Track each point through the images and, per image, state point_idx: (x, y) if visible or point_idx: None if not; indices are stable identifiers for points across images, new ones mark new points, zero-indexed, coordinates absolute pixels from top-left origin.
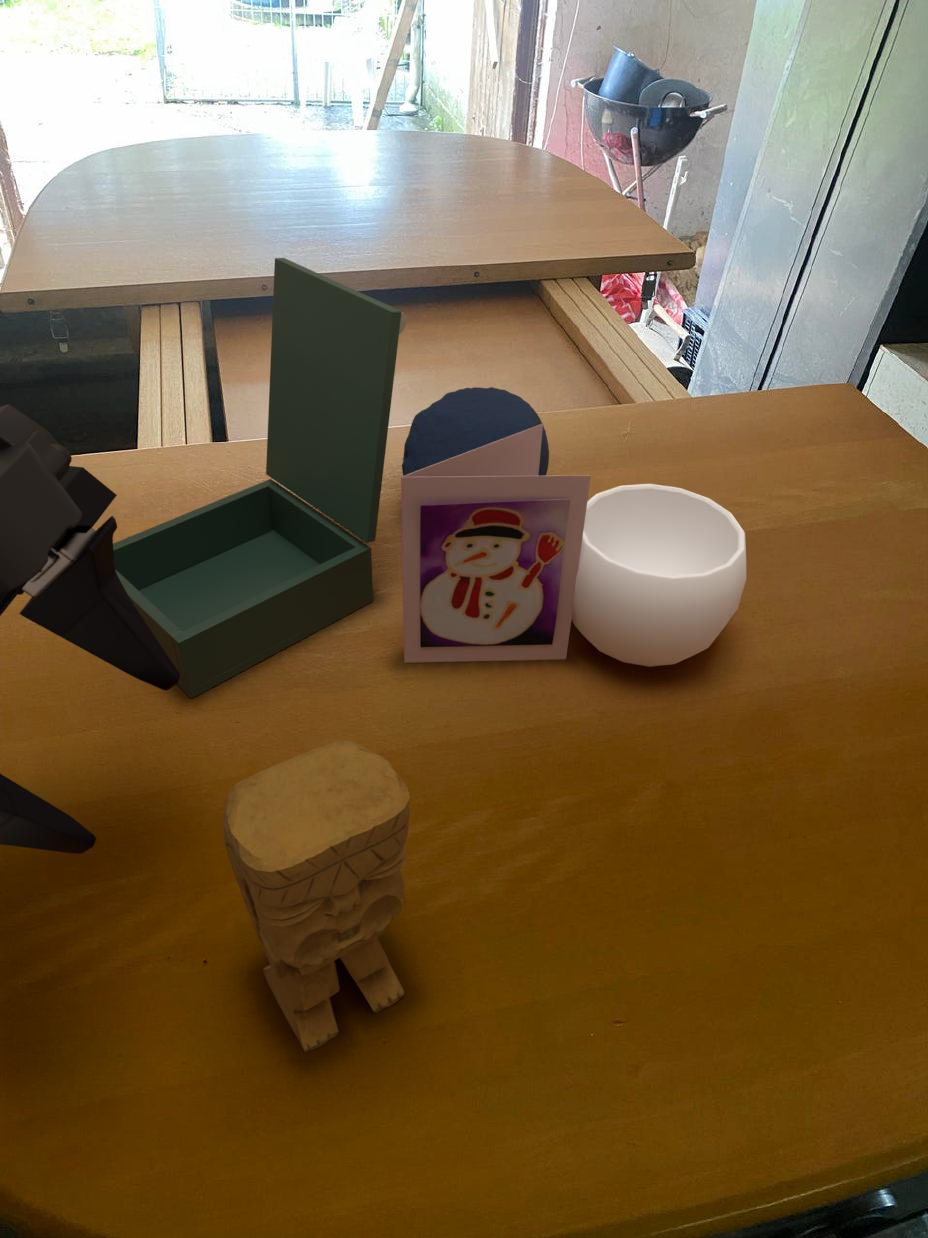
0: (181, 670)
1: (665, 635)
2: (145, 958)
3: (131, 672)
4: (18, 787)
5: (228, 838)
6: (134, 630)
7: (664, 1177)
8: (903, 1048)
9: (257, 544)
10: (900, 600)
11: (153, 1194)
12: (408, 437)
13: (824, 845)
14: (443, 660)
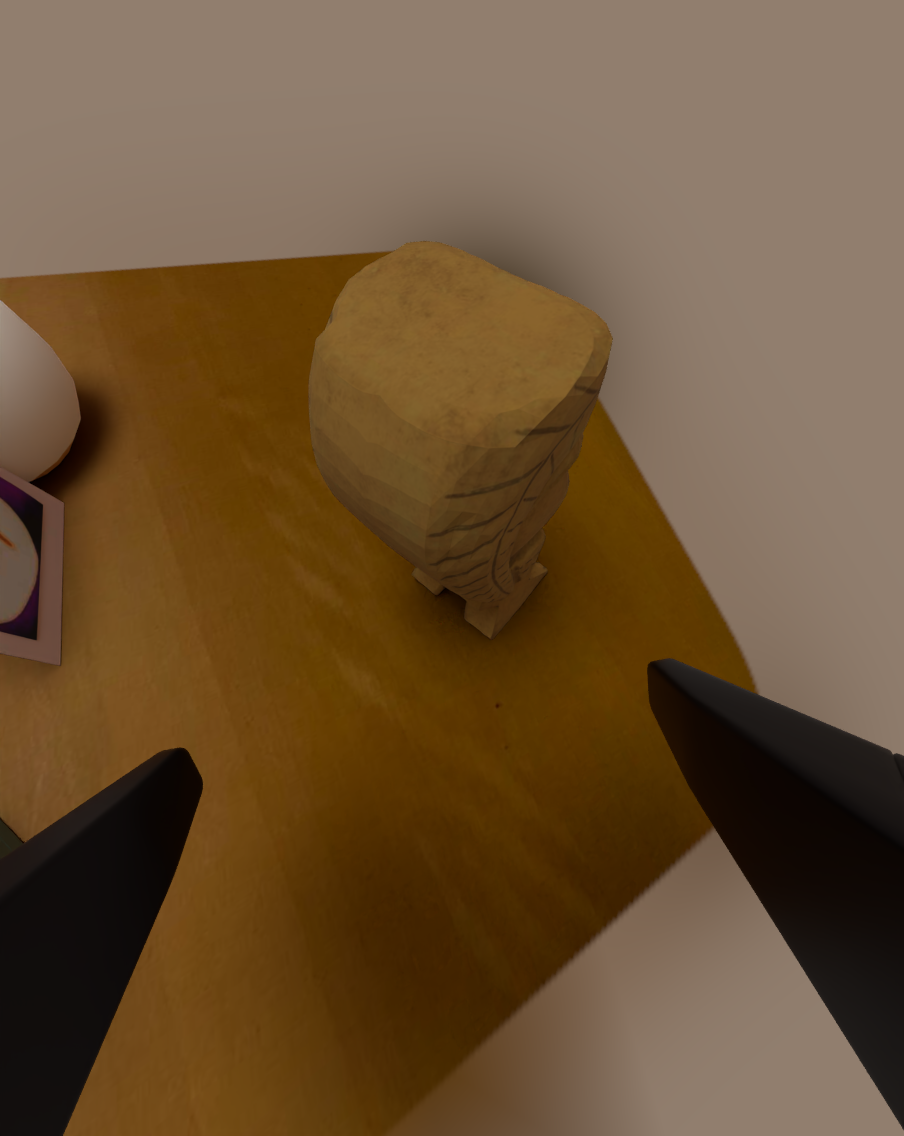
0: None
1: (44, 362)
2: (515, 774)
3: (161, 885)
4: (852, 795)
5: (541, 453)
6: (4, 890)
7: None
8: None
9: None
10: (7, 287)
11: (707, 638)
12: None
13: (267, 301)
14: (59, 620)
